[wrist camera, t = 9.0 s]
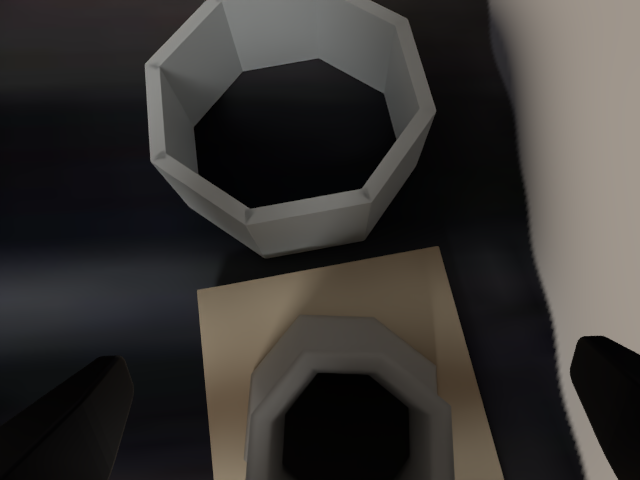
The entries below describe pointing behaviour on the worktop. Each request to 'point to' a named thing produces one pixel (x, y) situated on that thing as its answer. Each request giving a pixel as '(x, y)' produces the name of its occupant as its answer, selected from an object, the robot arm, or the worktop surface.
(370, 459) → the flask
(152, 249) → the worktop surface
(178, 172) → the collar
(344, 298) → the oak board
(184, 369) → the worktop surface
